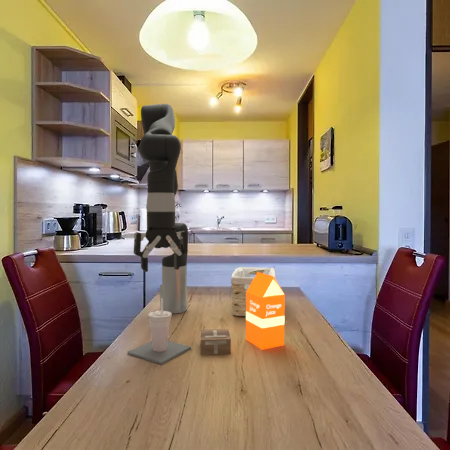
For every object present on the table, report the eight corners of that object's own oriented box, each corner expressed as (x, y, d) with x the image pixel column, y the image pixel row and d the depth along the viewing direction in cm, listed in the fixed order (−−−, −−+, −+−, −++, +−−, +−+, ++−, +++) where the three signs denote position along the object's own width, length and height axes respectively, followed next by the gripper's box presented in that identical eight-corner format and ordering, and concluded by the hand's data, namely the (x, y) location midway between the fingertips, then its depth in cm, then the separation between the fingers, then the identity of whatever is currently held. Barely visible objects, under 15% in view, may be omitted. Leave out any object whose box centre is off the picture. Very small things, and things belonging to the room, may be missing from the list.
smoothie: (166, 354, 95) (167, 301, 94) (143, 352, 96) (143, 300, 95) (174, 345, 101) (175, 295, 100) (153, 343, 102) (153, 294, 102)
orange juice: (261, 350, 100) (262, 277, 99) (245, 339, 108) (245, 272, 107) (284, 345, 103) (285, 275, 102) (267, 335, 111) (268, 270, 110)
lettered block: (200, 343, 105) (200, 329, 104) (228, 342, 105) (228, 328, 105) (200, 354, 96) (200, 339, 96) (230, 354, 97) (230, 338, 97)
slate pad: (127, 354, 96) (127, 351, 96) (158, 340, 107) (158, 338, 107) (161, 364, 90) (161, 362, 90) (191, 348, 100) (191, 346, 100)
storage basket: (236, 300, 153) (236, 265, 152) (275, 302, 151) (275, 266, 150) (229, 317, 129) (229, 276, 129) (275, 319, 127) (276, 278, 127)
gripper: (137, 210, 91) (138, 274, 91) (191, 210, 97) (191, 270, 98) (131, 210, 97) (131, 270, 98) (181, 209, 104) (181, 266, 104)
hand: (161, 270), depth 98 cm, fingers open, 8 cm apart
